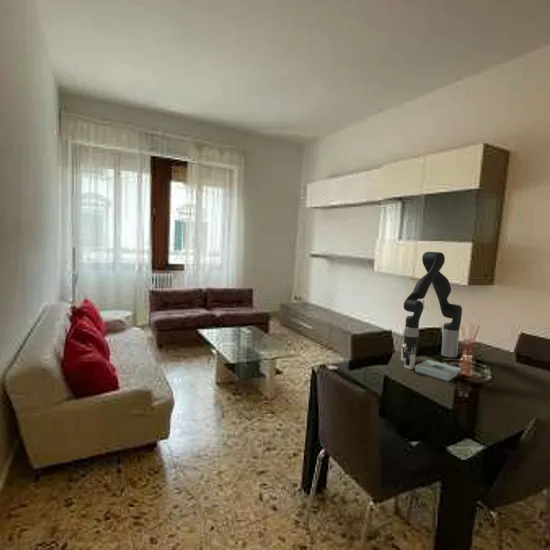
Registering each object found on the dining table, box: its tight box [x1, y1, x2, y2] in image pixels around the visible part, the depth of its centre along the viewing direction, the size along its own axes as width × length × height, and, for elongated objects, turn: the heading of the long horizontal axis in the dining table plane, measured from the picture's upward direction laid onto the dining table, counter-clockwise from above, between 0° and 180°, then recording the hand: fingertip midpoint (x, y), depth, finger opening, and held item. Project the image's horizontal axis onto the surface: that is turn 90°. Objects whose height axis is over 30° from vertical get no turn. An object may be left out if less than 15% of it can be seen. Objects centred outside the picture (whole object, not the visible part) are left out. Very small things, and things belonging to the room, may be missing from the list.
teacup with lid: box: [400, 343, 417, 363], centre depth 226 cm, size 12×9×12 cm
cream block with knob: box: [403, 354, 416, 370], centre depth 212 cm, size 4×4×9 cm
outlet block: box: [414, 359, 462, 383], centre depth 203 cm, size 16×18×4 cm
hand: (409, 364), depth 212 cm, fingers closed on cream block with knob, 4 cm apart
